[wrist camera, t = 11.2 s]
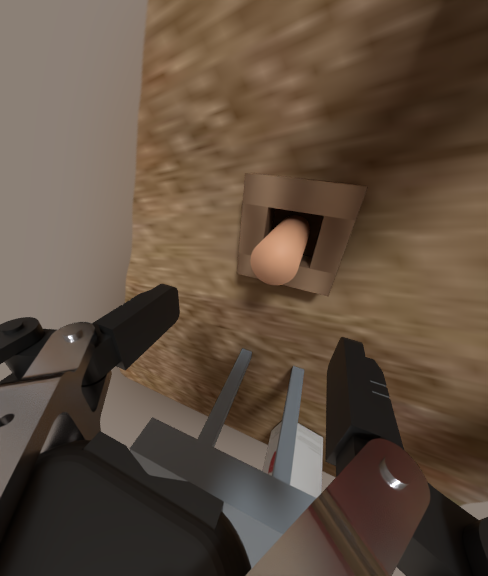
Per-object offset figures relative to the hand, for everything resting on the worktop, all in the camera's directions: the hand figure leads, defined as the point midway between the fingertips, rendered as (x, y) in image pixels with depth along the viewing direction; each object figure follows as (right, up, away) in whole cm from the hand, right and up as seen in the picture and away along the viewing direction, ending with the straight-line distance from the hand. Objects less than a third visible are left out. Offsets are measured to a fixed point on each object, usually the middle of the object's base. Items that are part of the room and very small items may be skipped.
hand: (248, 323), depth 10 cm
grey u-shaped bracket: (+6, -6, +25) cm, 27 cm away
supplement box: (+12, -32, +37) cm, 50 cm away
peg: (+6, +9, +17) cm, 20 cm away
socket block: (+6, +9, +17) cm, 20 cm away
